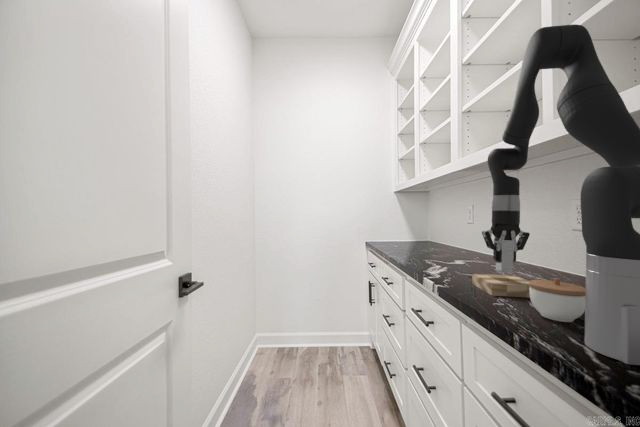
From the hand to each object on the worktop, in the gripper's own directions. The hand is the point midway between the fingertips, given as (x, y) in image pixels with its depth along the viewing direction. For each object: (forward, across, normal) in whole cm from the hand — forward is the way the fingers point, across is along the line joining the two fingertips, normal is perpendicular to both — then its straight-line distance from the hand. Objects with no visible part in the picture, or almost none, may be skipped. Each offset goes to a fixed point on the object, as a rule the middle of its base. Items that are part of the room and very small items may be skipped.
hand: (504, 262), depth 88 cm
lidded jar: (+9, 0, -23) cm, 25 cm away
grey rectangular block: (+3, 0, 0) cm, 3 cm away
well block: (+9, 0, 0) cm, 9 cm away
